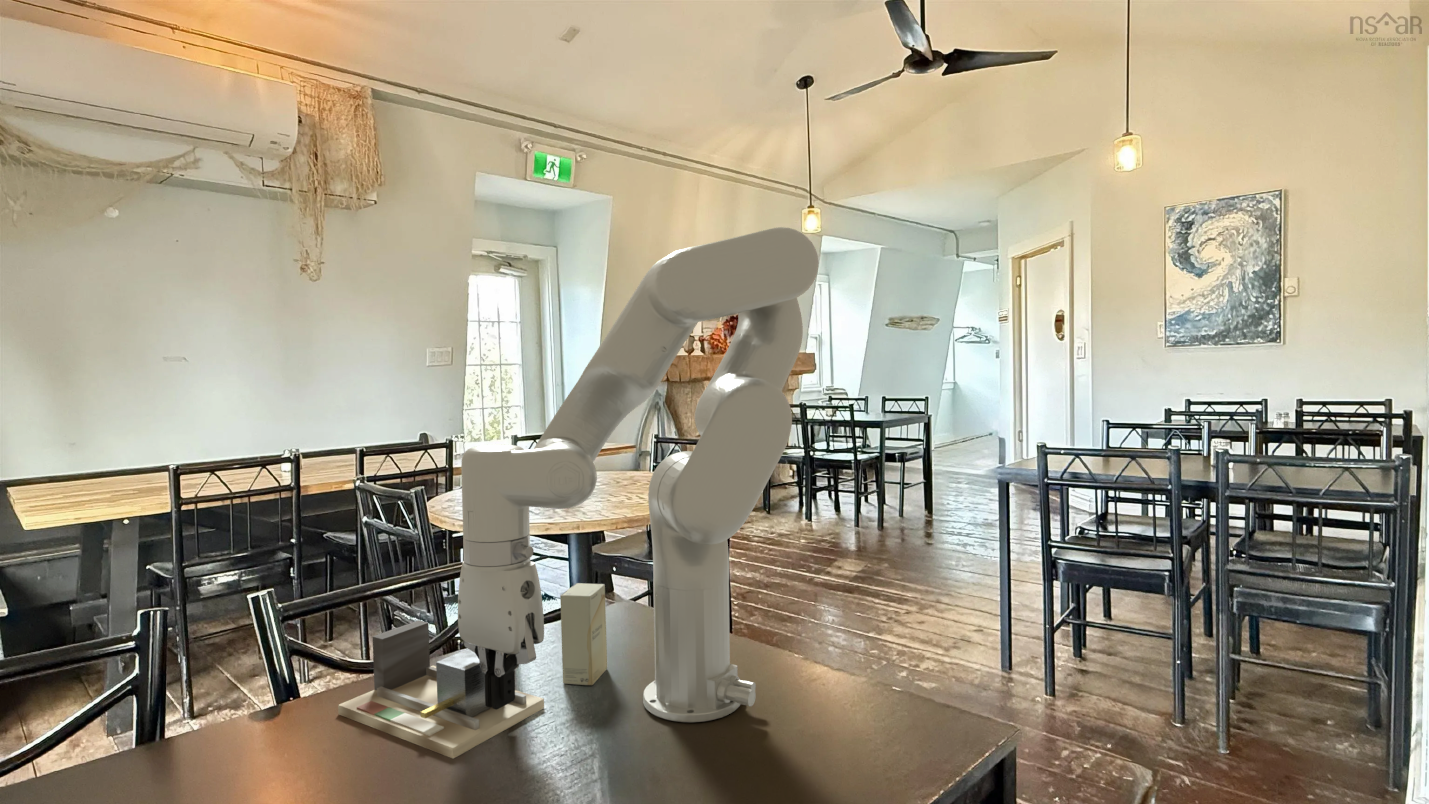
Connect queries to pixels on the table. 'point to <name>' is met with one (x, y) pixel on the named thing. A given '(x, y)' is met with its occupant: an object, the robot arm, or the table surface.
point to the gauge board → (424, 698)
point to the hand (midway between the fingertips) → (500, 703)
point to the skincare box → (583, 633)
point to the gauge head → (459, 685)
